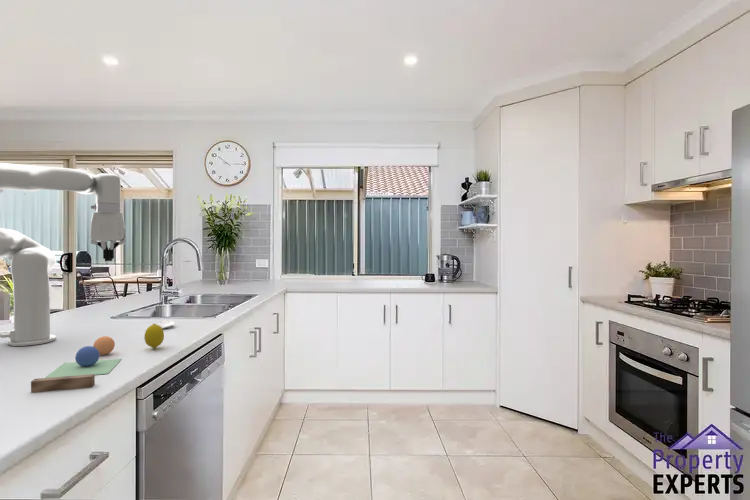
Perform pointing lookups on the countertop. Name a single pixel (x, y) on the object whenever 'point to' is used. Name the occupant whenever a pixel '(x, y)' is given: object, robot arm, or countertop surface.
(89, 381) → the rail
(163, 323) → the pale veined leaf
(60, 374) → the green mark
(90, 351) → the navy ball
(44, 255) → the robot arm
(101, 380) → the countertop surface
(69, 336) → the countertop surface
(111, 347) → the orange ball
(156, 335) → the lemon
